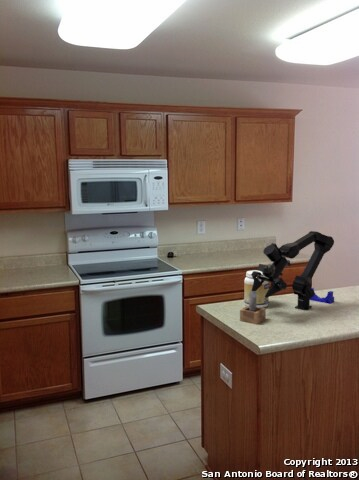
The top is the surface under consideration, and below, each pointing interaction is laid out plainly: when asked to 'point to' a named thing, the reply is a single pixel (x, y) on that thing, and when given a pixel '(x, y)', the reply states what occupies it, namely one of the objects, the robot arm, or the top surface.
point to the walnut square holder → (252, 315)
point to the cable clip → (327, 299)
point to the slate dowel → (252, 301)
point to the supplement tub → (261, 291)
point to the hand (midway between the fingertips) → (258, 294)
